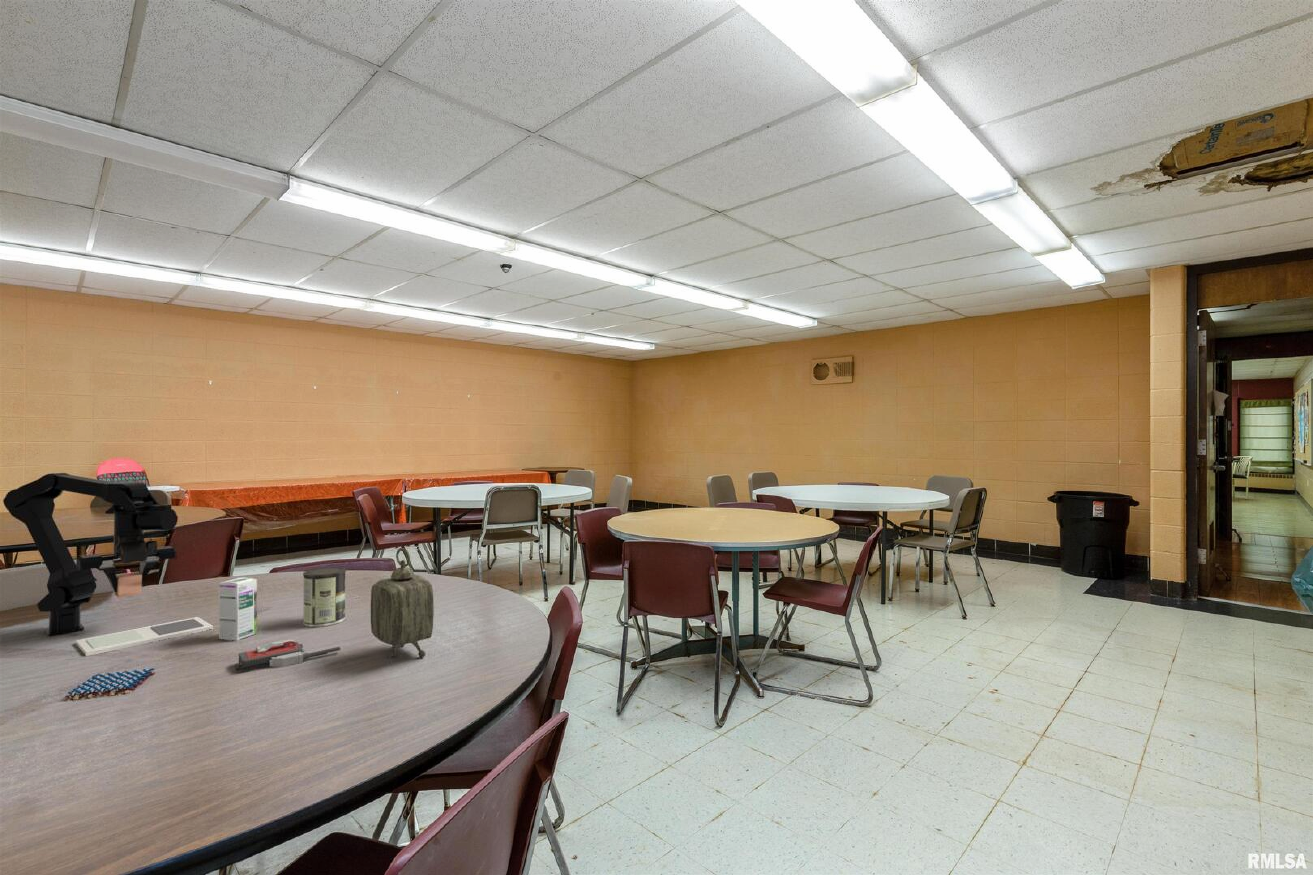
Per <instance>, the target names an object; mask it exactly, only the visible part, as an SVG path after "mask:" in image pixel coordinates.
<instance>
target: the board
mask: <svg viewBox="0 0 1313 875" xmlns="http://www.w3.org/2000/svg"><path fill="white" fill-rule="evenodd" d="M209 629H212V630H214V625H212V624H210V623H208V622H207V621H205V620H204V619H202V618H200V617H199V616H195V617H190V618H185V619H180V620H175V621H170V622H164V623H159V624H153V625H150V626H143V627H139V628H133V629H128V630H123V631H118V632H114V633H113V632H112V633H108V634H107V633H106V634H102V635H97V636H92V637H87V638H83V639H77V640H75V645H76V646H77V647H78V648H79V649H80V650H81V652H82V653H83V654H84V655H85V656H86V657H87V656H89V657H90V656H94V655H98V654H102V653H108V652H112V651H117V650H121V649H127V648H131V647H136V646H142V645H145V644H150V642H151V643H155V642H158V641H159V640H160V641H163V640H164V639H165V640H169V639H168V638H170V639H173V638H174V637H175V638H179V637H184V636H188V634H189V635H192V634H191V633H193V634H199V633H203V632H207V631H206V630H208V631H210V630H209ZM202 631H203V632H202ZM165 640H164V641H165ZM160 641H159V642H160Z"/></svg>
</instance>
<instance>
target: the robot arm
mask: <svg viewBox="0 0 1313 875" xmlns="http://www.w3.org/2000/svg"><path fill="white" fill-rule="evenodd" d="M64 491H65V492H69V493H70V492H71V493H76V494H81V495H87V496H92V497H96V498H100V499H101V500H103V501H104V503H105V502H106V503H108V504H111V505H112V506H111V507H110V508H108V509H106V510H105V511H104V513H105V515H113V518H114V519H113V555H106V556H102V555H101V554H99V553H93V554H85V555H79V556H78V557H77V558H76V562H75V560H74V558H73V556H72V554H71V552H70V550H69V548H68V545H67V543H66V542H65V540H64V537H63V536H62V534H61V532H60V530H59V528H58V525H57V524H56V522H55V520H54V518H53V515H54V514H53V513H54V511H55V508H56V506H55V505H56V503H55V500H56V499H57V498H59V497H60V496H62V494H63V492H64ZM2 502H3V505H4V507H5V509H6V510H7V511H8V513H9V514H10V516H12V517H13V518H14V519H17V520H18V521H20V522H21V523H23V524H24V525H25V527H26V528H27V530H28V532H29V534H30V536H31V539H32V540H33V542H34V544H35V546H36V549H37V550H38V552H39V555H40V556H41V559H42V561H43V562H44V565H45V566H46V569H47V571H48V572H49V576H48V580H47V583H46V587H47V591H48V593H47V594H46V595H45V596H44V597H43V598H42V599H41V600H40V601H39V602H37V605H36V606H37V608H38V610H39V612H40V613H41V612H48V628H44V632H45V633H46V634H47V636H49V637H50V636H56V635H61V634H66V633H71V632H78V631H81V630H82V631H83V630H84V629H85V626H84V625H83V624H82V623H81V612H82V611H81V610H82V608H81V606H82V605H83V604H86V603H87V604H88V603H90V601H91V599H92V596H93V595H94V593H95V590H96V589H97V583H96V582H97V581H98V579H97V578H96V577H95V576H94V574H93V571H92V569H96V570H98V571H100V572H101V571H102V572H103V573H104V574H105V576H106V577H107V580H108V581H109V583H110V586H111V588H112V590H113V592H114V593H115V592H117V580H116V575H117V574H116V572H117V571H116V569H117V568H116V566H114V563H120V562H121V563H122V564H130V563H135V562H140V564H139V572H138V573H140V574H141V575H142V588H143V586H144V584H145V582H146V580H147V578H148V575H149V574H150V572H151V570H152V568H154V566H155V565H157V564H160V563H161V561H160V560H171V559H176V558H177V549H176V548H175V547H173V546H170V545H167V546H158V541H157V540H147V541H145V537H144V536H145V535H144V531H148V532H150V531H159V532H160V531H163V532H164V531H167V532H168V531H171V530H173V529H174V528H175V527H176V526H177V523H178V519H179V516H178V515H177V512H176V511H175V510H174V509H172V504H169V503H168V504H167V503H166V504H159V502H158V501H157V500H156V498H155V497H154V495H153V494H152V493H151V492H150V491H149V488H148V485H147V484H146V483H145V482H140V481H126V482H125V481H120V482H119V481H118V482H117V481H115V482H114V481H105V480H100V479H96V478H95V479H94V478H90V477H85V476H79V475H74V474H69V473H66V472H56V473H54V472H52V473H47V474H44V475H43V476H41V477H39V478H38V479H35V480H33V481H31V482H28V483H26V484H24V485H21V486H19V487H18V488H14V489H11V490H10V491H8V492H7V493H6V495H5V496H4V498H3V500H2ZM159 559H160V560H159Z"/></svg>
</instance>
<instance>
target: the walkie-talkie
mask: <svg viewBox="0 0 1313 875" xmlns="http://www.w3.org/2000/svg"><path fill="white" fill-rule="evenodd" d="M337 651H341V646H337V647H332V648H331V647H330V648H327V649H322V650H317V651H312V652H305V648H304V646H303V643H299V642H298V641H294V640H293V639H292V638H287V639H283V640H277V641H272V642H271V643H268V645H266V646H264V647H263V648H261V646H260V645H259V646H256V647H255V649H253V650H249V651H243V652H239V653H238V665H236V666H235V671H236V672H239V671H241V672H243V673H248V672H250V671H256V670H260V669H265V668H268V667H271V668H284V667H287V666H291V665H296V664H302V663H303V662H304V661H305V660H308V659H309V658H315V657H319V656H324V655H327V654H328V653H333V652H337ZM304 652H305V653H304Z"/></svg>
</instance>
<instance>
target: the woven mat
mask: <svg viewBox="0 0 1313 875" xmlns="http://www.w3.org/2000/svg"><path fill="white" fill-rule="evenodd" d="M155 674H156V672H155V667H153V668H150V669H149V668H143V669H139V670H137V669H134V670H125V671H119V670H118V671H117V672H116V671H115V672H112V673H111V672H105V673H97V674H95V675H92V677H91V678H87V680H86V681H84V682H82V684H80V685H77V687H76V688H72V691H71V690H70V691H68V692H67V695H65V697H64V698H65V699H66V698H68V699H67V700H66V702H69V701H71V700H74V701H77V700H79V698H80V701H81V700H85V699H87V698H88V699H92V698H94V697H95V698H100V697H101V696H103V697H108V696H115V695H117V696H120V695H122V694H123V693H124V694H125V695H128V694H130V693H132V692H133V691H135V690H136V688H138V687H139V686H140V685H142V684H144V683H145V681H147V680H148V679H149V678H150V677H152V676H153V675H155Z"/></svg>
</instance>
